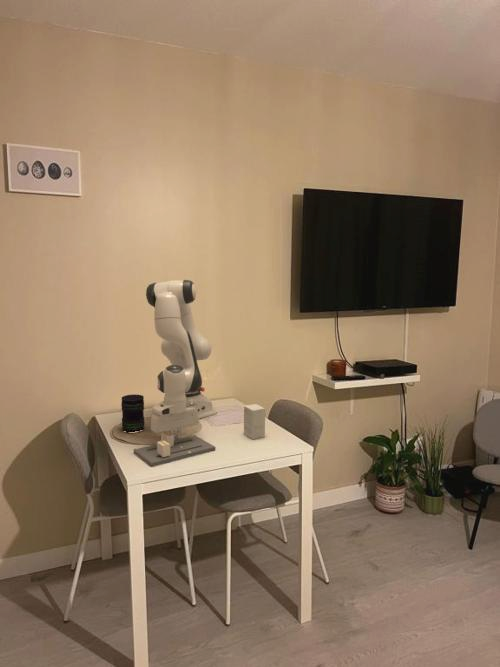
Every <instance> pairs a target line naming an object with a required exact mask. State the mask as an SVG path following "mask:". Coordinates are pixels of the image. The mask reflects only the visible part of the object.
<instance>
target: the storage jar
mask: <svg viewBox="0 0 500 667" xmlns="http://www.w3.org/2000/svg"><path fill="white" fill-rule="evenodd" d="M144 399H145V398H144V395H141V394H127V395H124V396H122V397H121V411H122V412H121V413H122V414H121V416H122V418H121V427H122V428H121V430H123V431H126V432H135V431H140V430H143V429H144V430H145V417H144V416H145V415H144V410H145V401H144ZM144 430H143V431H144ZM123 431H122V432H123Z"/></svg>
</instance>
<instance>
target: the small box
mask: <svg viewBox="0 0 500 667" xmlns="http://www.w3.org/2000/svg"><path fill="white" fill-rule="evenodd" d="M265 432H266V408H264V407H263V406H261V405H259V404H256V403H253V404H248V405H244V406H243V435H245V436H246V437H248V438H250V439H251V440H257V439H258V440H259V439H263V438H265V437H266V433H265Z"/></svg>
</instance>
